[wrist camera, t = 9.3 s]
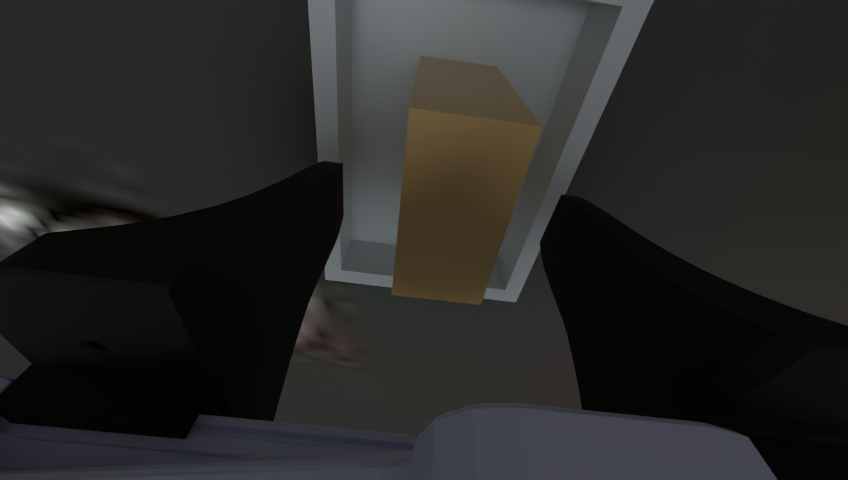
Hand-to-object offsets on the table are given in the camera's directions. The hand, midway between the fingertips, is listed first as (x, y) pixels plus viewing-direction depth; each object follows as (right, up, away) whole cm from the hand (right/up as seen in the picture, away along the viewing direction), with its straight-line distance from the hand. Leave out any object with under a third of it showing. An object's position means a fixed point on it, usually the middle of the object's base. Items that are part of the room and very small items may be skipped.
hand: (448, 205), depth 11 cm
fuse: (0, +3, +4) cm, 5 cm away
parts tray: (0, +3, +4) cm, 6 cm away
